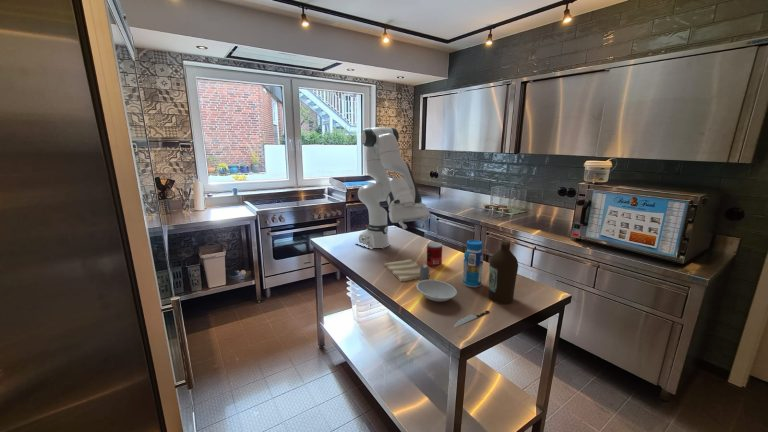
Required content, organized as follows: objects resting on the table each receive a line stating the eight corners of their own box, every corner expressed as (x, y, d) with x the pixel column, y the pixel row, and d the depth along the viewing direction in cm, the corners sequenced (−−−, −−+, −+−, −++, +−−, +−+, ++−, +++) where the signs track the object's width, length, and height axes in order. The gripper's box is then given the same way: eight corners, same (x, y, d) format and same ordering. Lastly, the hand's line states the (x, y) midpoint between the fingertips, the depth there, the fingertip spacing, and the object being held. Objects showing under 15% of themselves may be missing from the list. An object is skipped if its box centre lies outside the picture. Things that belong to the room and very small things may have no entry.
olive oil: (507, 292, 128) (513, 236, 123) (519, 304, 118) (525, 244, 112) (483, 292, 128) (487, 236, 122) (492, 305, 118) (497, 245, 112)
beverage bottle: (458, 281, 139) (460, 240, 134) (473, 278, 142) (475, 238, 137) (470, 289, 131) (473, 246, 126) (485, 285, 134) (488, 243, 130)
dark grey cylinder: (423, 286, 134) (423, 268, 132) (418, 282, 138) (418, 264, 136) (430, 285, 135) (430, 266, 133) (425, 281, 139) (425, 263, 137)
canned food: (444, 263, 159) (445, 244, 157) (435, 268, 154) (436, 247, 151) (432, 260, 164) (432, 241, 162) (423, 264, 159) (424, 244, 156)
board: (384, 266, 157) (384, 263, 156) (410, 261, 162) (410, 259, 162) (400, 281, 139) (400, 278, 138) (429, 276, 144) (429, 273, 144)
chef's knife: (446, 325, 106) (452, 329, 103) (446, 322, 106) (452, 326, 103) (483, 309, 116) (490, 313, 113) (483, 307, 115) (490, 310, 113)
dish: (464, 301, 121) (464, 290, 120) (441, 314, 112) (441, 302, 111) (431, 286, 134) (431, 276, 133) (408, 296, 125) (408, 285, 124)
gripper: (422, 206, 154) (431, 228, 147) (385, 209, 147) (393, 233, 140) (426, 198, 149) (436, 221, 142) (388, 201, 142) (396, 226, 135)
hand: (414, 227), depth 141 cm, fingers open, 8 cm apart
